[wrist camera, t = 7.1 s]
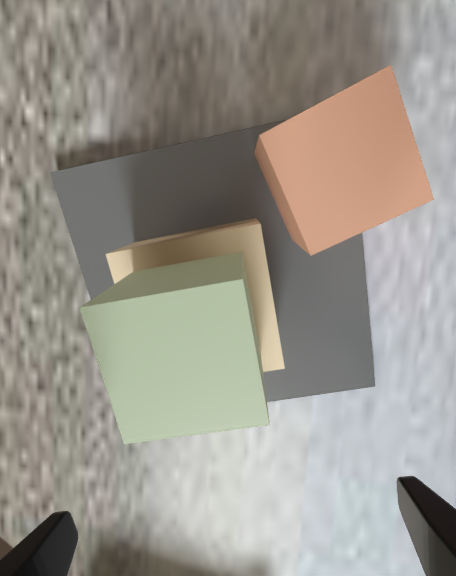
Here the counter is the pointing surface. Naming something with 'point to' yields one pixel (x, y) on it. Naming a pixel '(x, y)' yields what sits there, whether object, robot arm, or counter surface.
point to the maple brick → (208, 245)
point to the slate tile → (219, 211)
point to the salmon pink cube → (344, 164)
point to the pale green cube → (180, 350)
